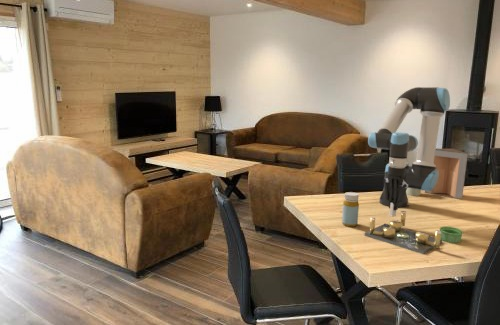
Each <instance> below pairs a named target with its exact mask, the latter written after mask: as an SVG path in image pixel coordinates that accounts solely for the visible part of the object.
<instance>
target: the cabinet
mask: <svg viewBox="0 0 500 325" xmlns="http://www.w3.org/2000/svg"><path fill="white" fill-rule="evenodd" d="M468 156H469V152H467V151H461V150H458V149H454V148H436V149H435V155H434V162H433V163H434V164H435V166H436V170H438V171H439V174H438V175H439V176H438V180H437V183H436V185H435V187H434V188H433V189H432V190H431V191H425V190H424V194H428V195H433V196H440V197H445V198H451V199H454V200H455V199H456V200H463V194H464V188H465V178H466V170H467V163H468Z"/></svg>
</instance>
